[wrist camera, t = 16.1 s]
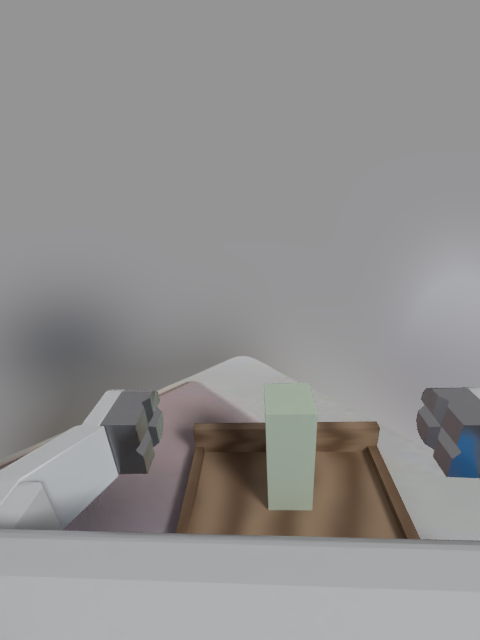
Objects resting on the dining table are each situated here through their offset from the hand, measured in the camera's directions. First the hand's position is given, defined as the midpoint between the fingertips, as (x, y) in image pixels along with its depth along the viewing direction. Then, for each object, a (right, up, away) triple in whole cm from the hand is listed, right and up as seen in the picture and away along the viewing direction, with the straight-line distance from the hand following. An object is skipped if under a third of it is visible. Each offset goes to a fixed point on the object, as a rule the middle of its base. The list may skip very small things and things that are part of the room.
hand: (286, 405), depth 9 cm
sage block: (+4, -18, +27) cm, 33 cm away
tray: (+5, -19, +27) cm, 34 cm away
